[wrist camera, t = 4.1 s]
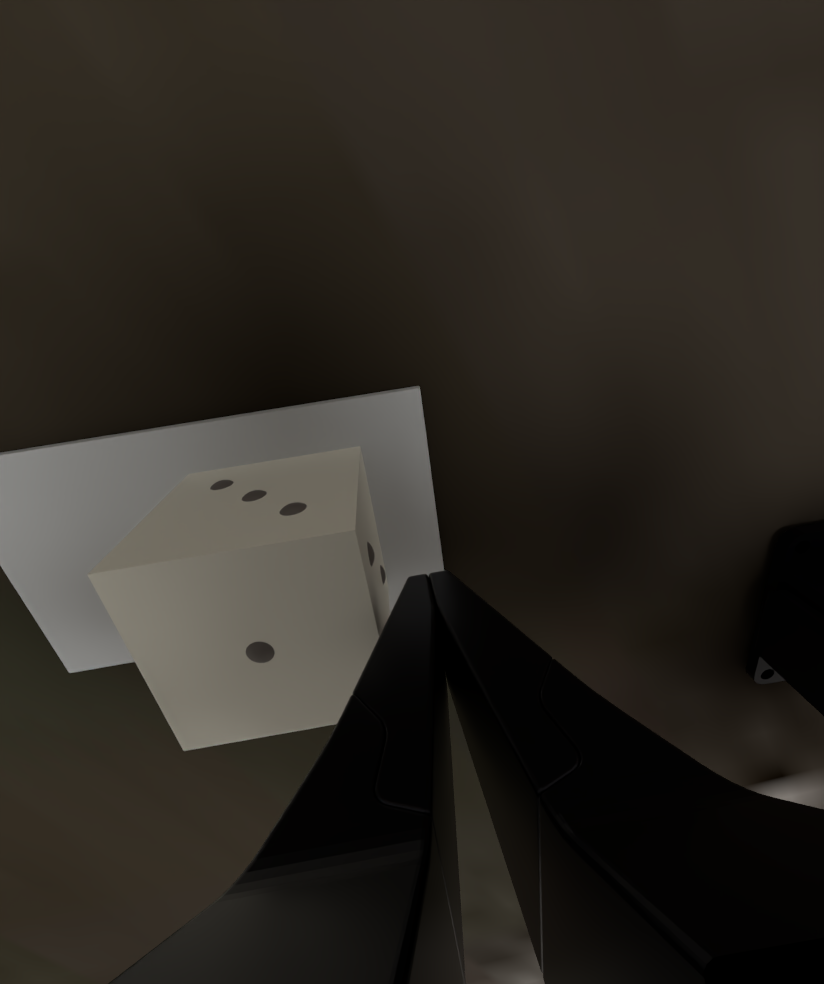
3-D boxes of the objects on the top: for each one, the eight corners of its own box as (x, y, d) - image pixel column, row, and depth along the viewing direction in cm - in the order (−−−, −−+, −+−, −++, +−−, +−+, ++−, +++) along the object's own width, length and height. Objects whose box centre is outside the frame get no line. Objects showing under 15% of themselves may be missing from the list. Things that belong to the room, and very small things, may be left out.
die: (363, 441, 11) (360, 526, 7) (391, 585, 13) (401, 716, 9) (187, 470, 11) (80, 572, 7) (241, 610, 13) (181, 755, 9)
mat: (419, 385, 11) (419, 387, 11) (447, 601, 14) (449, 608, 14) (-54, 461, 11) (-64, 465, 11) (75, 665, 14) (69, 673, 14)
